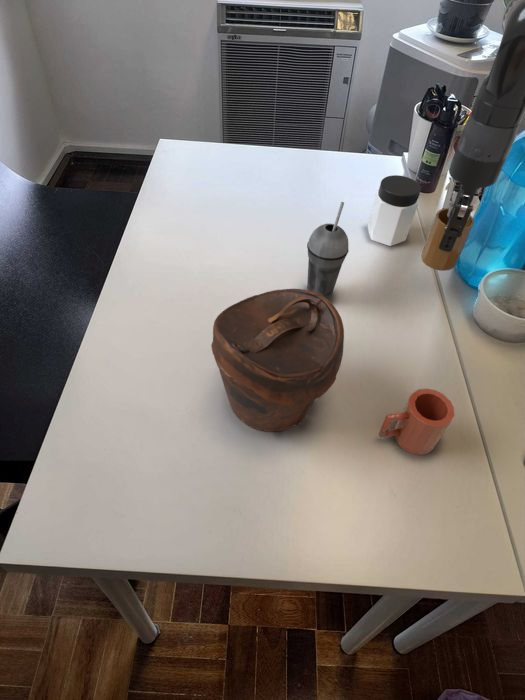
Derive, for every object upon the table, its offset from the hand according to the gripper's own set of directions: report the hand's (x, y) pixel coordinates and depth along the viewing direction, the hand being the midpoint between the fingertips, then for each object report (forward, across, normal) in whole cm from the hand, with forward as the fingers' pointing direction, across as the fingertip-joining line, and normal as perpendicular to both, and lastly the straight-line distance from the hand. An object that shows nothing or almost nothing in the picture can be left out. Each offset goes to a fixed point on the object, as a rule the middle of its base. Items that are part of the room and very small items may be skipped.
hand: (446, 238), depth 85 cm
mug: (+12, -36, -1) cm, 38 cm away
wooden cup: (+5, 0, 0) cm, 5 cm away
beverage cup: (+12, -11, +19) cm, 25 cm away
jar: (+12, +14, +11) cm, 22 cm away
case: (+12, -37, +20) cm, 43 cm away
